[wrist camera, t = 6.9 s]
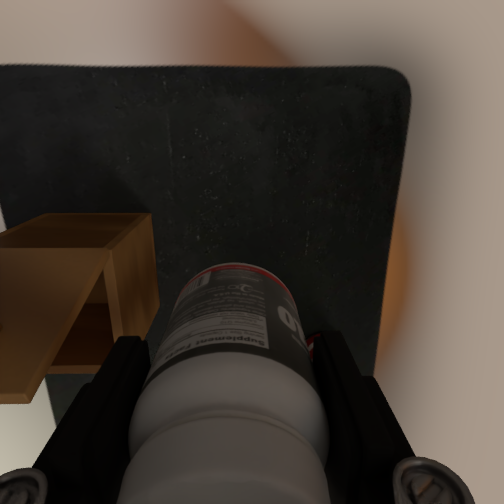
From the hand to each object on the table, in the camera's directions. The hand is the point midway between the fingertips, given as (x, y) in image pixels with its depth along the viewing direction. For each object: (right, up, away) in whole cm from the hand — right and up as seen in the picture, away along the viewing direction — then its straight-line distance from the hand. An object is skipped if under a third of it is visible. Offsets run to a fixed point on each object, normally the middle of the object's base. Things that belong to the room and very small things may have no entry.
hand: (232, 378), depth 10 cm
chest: (-15, +3, +27) cm, 31 cm away
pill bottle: (0, +1, +4) cm, 4 cm away
